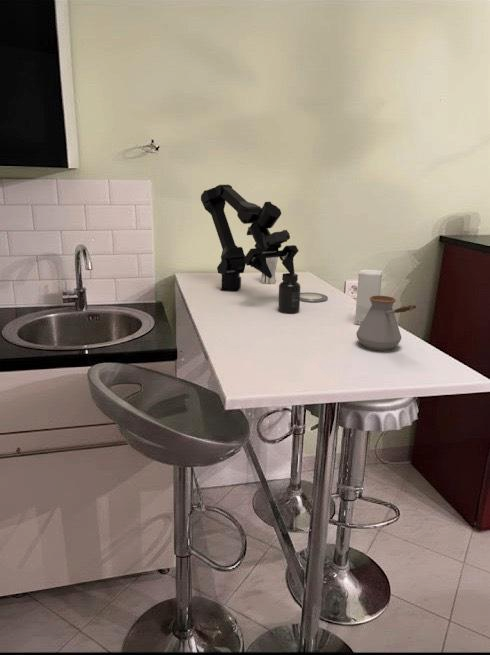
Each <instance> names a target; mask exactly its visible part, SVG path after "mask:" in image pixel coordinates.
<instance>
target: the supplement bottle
mask: <svg viewBox="0 0 490 655" xmlns="http://www.w3.org/2000/svg"><path fill="white" fill-rule="evenodd" d="M294 273H295V272H294ZM294 273H289V272H286V273H283V274H282V278H281V280H282V282H279V284H278V303H277V304H278V309H277V310H278V311H279V312H280V313H283V314H297V313H299V312H300V307H301V306H300V305H301V301H300V293H301V284H300V283H299V282H298V280H299V278H298V277H299V276H298V273H295V274H294Z"/></svg>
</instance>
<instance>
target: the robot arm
mask: <svg viewBox="0 0 490 655" xmlns="http://www.w3.org/2000/svg"><path fill="white" fill-rule="evenodd" d="M200 201H201V203H202V206H203V208H204V210H206V212H208V213H209V214H210V216H211V219H212V222H213V224H214V227H215V230H216V233H217V236H218V239H219V242H220V244H221V245H220V246H221V249H222V251H221V256H220V259H221V261H220V262H219V264H218V266H217V267H216V268H217V274H220V275H221V287H220V289H219V290H220V291H223V292H238V291H240V289H241V287H242V277H241V276H240V275H241V274H244V272H245V269H246V266H247V267H248V266H250V267H251V268H254V269H255V270H257V271H259V272H260V273H261V274H262V273H263V274H264V275H266V276H267V277H269V278H271V277H272V274H271V272H270V270H269V267H268V265H267V263H266V261H265V258H275V257H278V259H279V260H280V261H281V264H282V266H284V268H285V269H286V271H287V273H294V274H296V273H295V266H294V257H295V256H296V255H297V254H298V252H300V251H299V248H298V247H297V245H295V244H291V245H284V247H283V249H282V250H280V248H281V247H282V244H284V243H286V242H288V240H290V238H291V236H290V233H289V231H288V229H283V230H282V231H275V232H272V233H271V232H270V230H269V229H272V228H273V227H274V225H275V224H276V223H277V221H278V220H279V219H280V217H281V216H282V211H281V208H279V207H278V206H277V205H275V204H273V203H272V202H271V201H265V202H264V203H263V205H262V207H261V206H260V205H258V204H256V203H253V202H250V201H247V200H246V199H245V198H244V197H243V196H242V195H241V194H239V193H238V192H237V191H236V190H235V189H233V186H232V185H230V184H218V185H216V186H215V187H212V188H209V189H206V190H204V191H203V192H202V193H201V195H200ZM226 203H227V204H228V205H229V206H230V207H231V208H233V209H234V210H235V211H236V213H237V218H238V220H240V222H241V223H242V224H243V225H250V224H251V225H250V226H248V227H247V231H246V236H252V239H253V240H254V242H255V244H254V247H253V248H249V251H248V252H246V254H245V252H244V249H243V246H237V245H236V243H235V240H234V237H233V233H232V231H231V227H230V225H229V222H228V219H227V216H226V212H225V207H226Z"/></svg>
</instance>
